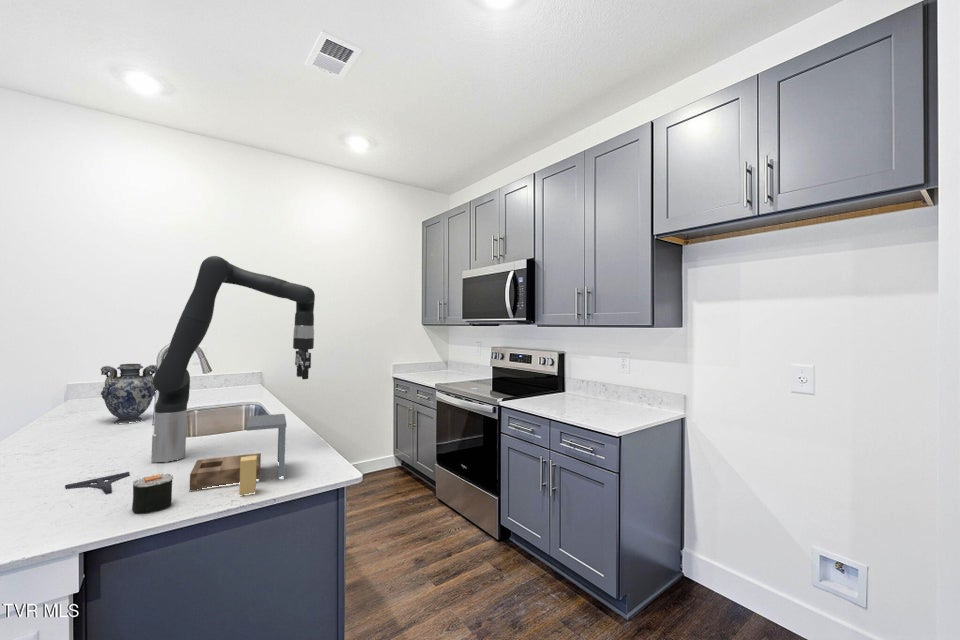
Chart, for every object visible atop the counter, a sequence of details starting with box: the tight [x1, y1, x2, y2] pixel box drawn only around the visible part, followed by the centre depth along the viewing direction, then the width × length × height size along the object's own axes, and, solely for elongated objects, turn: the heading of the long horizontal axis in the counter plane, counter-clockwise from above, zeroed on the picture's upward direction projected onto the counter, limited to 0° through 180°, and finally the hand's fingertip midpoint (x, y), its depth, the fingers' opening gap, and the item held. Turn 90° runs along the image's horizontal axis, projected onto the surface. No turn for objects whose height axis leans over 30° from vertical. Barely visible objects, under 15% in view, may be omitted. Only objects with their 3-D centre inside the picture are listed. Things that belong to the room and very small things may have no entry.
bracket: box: [64, 471, 131, 495], centre depth 121 cm, size 14×15×3 cm
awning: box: [246, 413, 287, 477], centre depth 135 cm, size 11×16×18 cm
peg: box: [238, 455, 257, 496], centre depth 119 cm, size 4×4×10 cm
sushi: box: [131, 473, 174, 515], centre depth 109 cm, size 8×8×8 cm
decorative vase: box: [100, 363, 158, 424], centre depth 201 cm, size 21×19×28 cm
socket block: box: [189, 452, 262, 491], centre depth 130 cm, size 18×14×5 cm
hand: (302, 377), depth 163 cm, fingers open, 8 cm apart
